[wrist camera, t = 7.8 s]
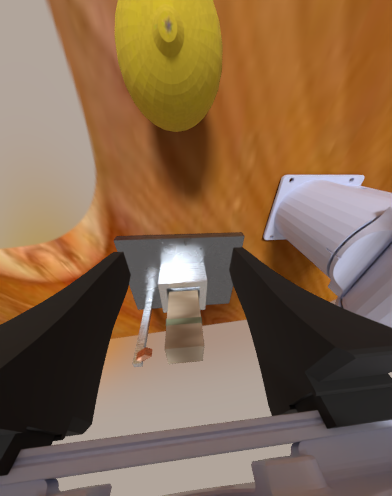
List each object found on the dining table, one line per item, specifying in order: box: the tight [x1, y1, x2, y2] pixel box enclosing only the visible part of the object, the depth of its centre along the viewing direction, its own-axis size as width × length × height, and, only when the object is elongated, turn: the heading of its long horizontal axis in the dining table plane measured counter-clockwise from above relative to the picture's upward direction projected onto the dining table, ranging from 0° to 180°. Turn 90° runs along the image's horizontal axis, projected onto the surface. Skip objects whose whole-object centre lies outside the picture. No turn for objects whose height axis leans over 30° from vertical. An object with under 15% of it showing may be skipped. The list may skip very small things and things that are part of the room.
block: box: [165, 290, 204, 364], centre depth 17 cm, size 4×4×6 cm
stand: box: [114, 232, 244, 367], centre depth 19 cm, size 16×14×9 cm
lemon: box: [115, 0, 222, 132], centre depth 9 cm, size 6×6×8 cm
